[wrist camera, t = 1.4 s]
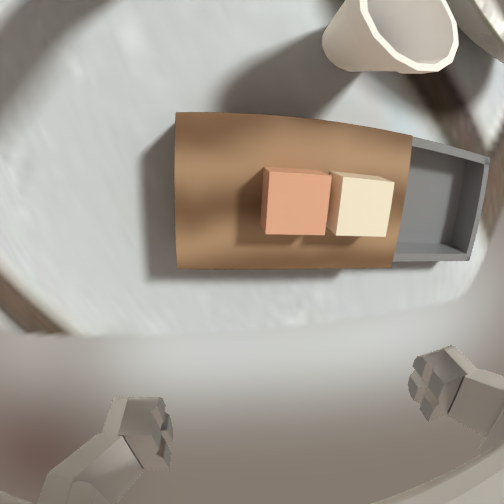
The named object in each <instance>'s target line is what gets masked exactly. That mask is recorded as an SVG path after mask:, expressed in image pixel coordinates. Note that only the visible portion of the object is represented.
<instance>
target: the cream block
mask: <svg viewBox="0 0 504 504" xmlns="http://www.w3.org/2000/svg"><path fill="white" fill-rule="evenodd" d="M330 175H331V176H332V179H331V188H330V197H329V206H328V214H327V222H326V227H327V228H328V229H330V230H331V231H332V232H333V233H334V234H335V235H336V236H373V237H386V232H387V227H388V221H389V215H390V210H391V203H392V197H393V190H394V183H395V182H392V181H390V180H387V179H385V178H382V177H379V176H372V175H364V174H354V173H344V172H334V171H330Z"/></svg>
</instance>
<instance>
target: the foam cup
mask: <svg viewBox="0 0 504 504" xmlns="http://www.w3.org/2000/svg"><path fill="white" fill-rule="evenodd" d="M458 45H459V41H458V31H457V23H456V21H455V18H454V16H453V14H452V12H451V10H450V8H449V6H448V4H447V2H446V0H345V1H344V3H343V4H342V6H341V7H340V8H339V10H338V11H337V13H336V14H335V16H334V17H333V18H332V20H331V21H330V23H329V24H328V26H327V28H326V29H325V31H324V33H323V35H322V48H323V50H324V52H325V54H326V57H327V59H329V60H330V61H331V62H332V63H333V64H334V65H335V66H336V67H338V68H340V69H343V70H346V71H348V72H358V71H397V72H399V73H401V74H423V73H431V72H438V71H440V70H441V69H443V68H444V67H446V66H447V65H449V64H450V63H452V62H453V59H454V56H455V54H456V51H457V48H458Z"/></svg>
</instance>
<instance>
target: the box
mask: <svg viewBox="0 0 504 504" xmlns="http://www.w3.org/2000/svg"><path fill="white" fill-rule="evenodd" d="M489 162H490V158H488V157H485V156H482V155H479V154H476V153H472V152H469V151H466V150H462V149H459V148H455V147H452V146H448V145H444V144H441V143H437V142H433V141H429V140H425V139H420V138H416V137H413V139H412V149H411V158H410V166H409V174H408V181H407V188H406V194H405V201H404V207H403V212H402V218H401V223H400V229H399V234H398V239H397V243H396V248H395V253H394V257H393V262H412V261H469V259H470V256H471V252H472V249H473V245H474V241H475V237H476V233H477V229H478V224H479V220H480V215H481V211H482V206H483V200H484V195H485V189H486V183H487V177H488V170H489Z"/></svg>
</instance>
